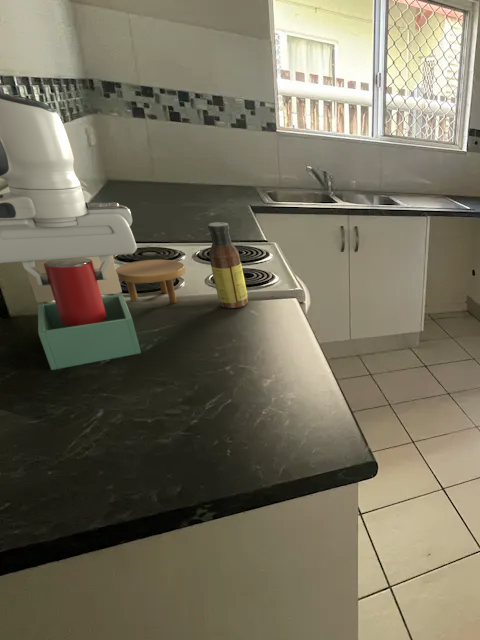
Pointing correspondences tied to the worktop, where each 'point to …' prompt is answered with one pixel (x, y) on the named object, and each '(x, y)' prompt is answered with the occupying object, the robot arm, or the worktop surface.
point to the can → (75, 291)
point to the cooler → (87, 335)
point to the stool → (151, 275)
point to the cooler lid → (105, 286)
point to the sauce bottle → (226, 267)
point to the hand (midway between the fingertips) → (73, 281)
